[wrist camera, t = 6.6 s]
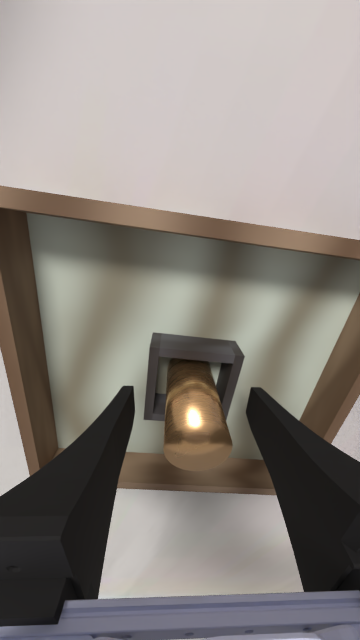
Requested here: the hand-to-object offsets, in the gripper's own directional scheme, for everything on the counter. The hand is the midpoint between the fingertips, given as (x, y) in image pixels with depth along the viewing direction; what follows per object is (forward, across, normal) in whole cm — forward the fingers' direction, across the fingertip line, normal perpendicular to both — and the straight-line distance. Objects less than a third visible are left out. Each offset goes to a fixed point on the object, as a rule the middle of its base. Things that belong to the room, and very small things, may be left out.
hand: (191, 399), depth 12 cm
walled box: (+3, 0, 0) cm, 3 cm away
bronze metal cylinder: (+3, 0, 0) cm, 3 cm away
